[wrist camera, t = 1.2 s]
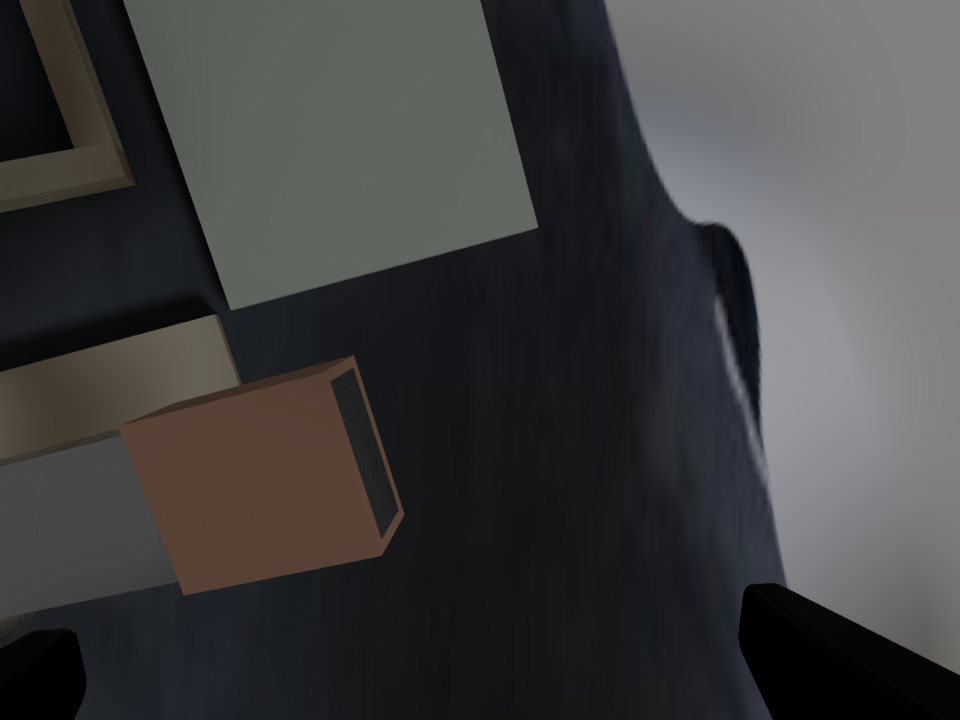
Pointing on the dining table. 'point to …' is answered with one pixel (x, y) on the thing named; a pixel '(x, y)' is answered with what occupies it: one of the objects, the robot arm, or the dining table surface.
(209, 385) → the base
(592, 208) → the dining table surface
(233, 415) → the cutter handle
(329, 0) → the pad
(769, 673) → the robot arm
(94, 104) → the open square beige frame
